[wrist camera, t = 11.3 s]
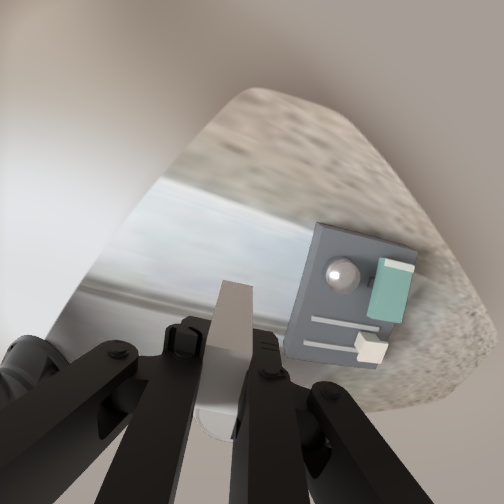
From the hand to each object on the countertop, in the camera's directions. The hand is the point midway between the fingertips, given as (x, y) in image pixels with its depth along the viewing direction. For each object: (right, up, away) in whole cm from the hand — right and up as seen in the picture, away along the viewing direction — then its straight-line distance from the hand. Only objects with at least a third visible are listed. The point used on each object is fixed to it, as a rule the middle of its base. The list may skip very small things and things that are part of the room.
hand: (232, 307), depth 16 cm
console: (+13, -3, +26) cm, 29 cm away
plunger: (+11, +1, +20) cm, 23 cm away
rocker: (+17, -2, +19) cm, 26 cm away
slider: (+15, -8, +23) cm, 29 cm away
